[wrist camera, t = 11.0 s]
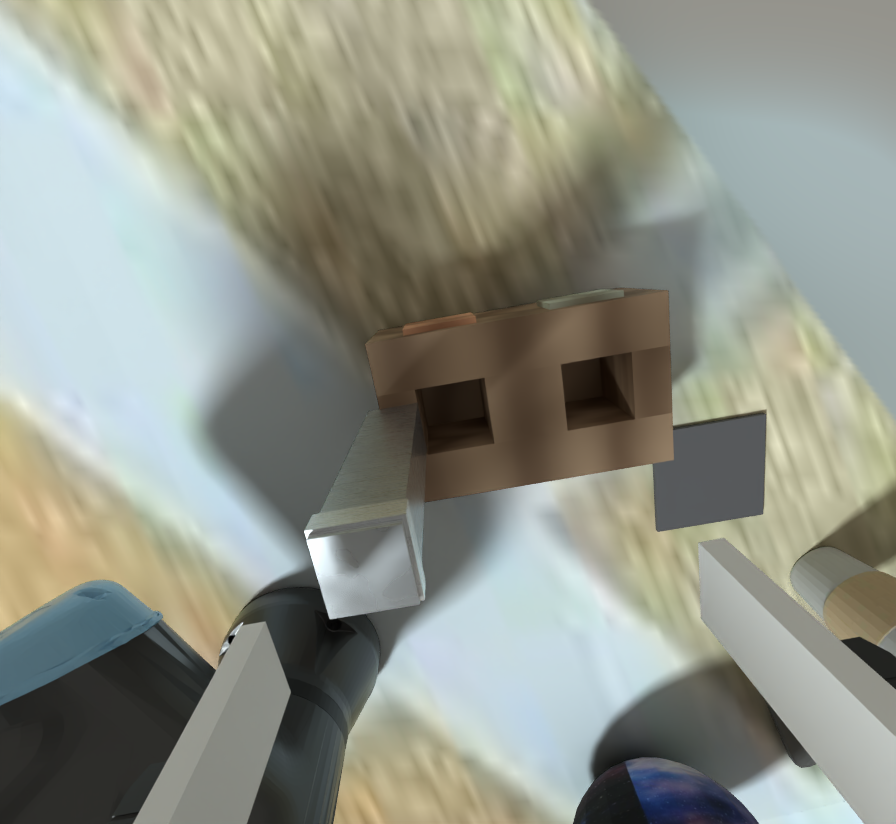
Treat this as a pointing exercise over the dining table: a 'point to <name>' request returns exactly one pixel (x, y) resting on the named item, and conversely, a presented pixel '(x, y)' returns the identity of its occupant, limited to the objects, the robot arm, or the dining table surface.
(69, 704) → the robot arm
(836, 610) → the coffee cup
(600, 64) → the dining table surface
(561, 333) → the socket block
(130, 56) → the dining table surface
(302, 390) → the dining table surface
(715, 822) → the decorative sphere
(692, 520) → the mat
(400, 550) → the plug
